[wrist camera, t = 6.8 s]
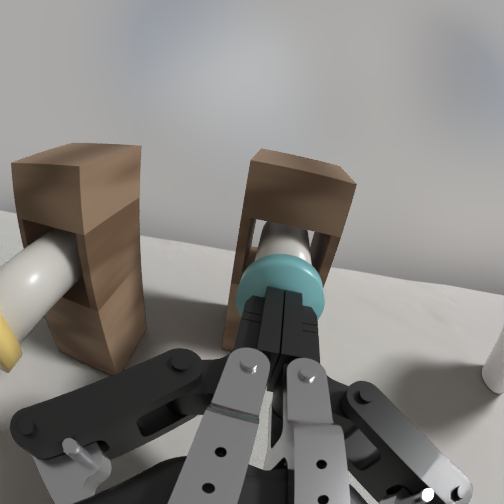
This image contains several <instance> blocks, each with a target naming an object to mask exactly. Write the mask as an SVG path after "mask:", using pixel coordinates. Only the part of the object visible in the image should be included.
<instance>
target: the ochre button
mask: <svg viewBox="0 0 504 504" xmlns="http://www.w3.org/2000/svg"><path fill="white" fill-rule="evenodd" d="M82 276H83V273H82V267H81V262H80V256H79V250H78V244H77V237H76V233H73V232H69V231H66V230H62V229H58V228H53V229H52V230H50V231H49V232H47V233H46V234H44V235H43V236H41V237H40V238H39V239H37V240H36V241H34V242H33V243H32V244H30V245H29V246H27V247H26V248H25V249H23V250H22V251H21V252H19V253H18V254H17V255H15V256H14V257H13V258H11V259H10V260H9V261H8V262H6V263H5V264H4V265H3V266H1V267H0V369H2V370H3V371H4V372H6V373H9V372H10V371H11V370H12V368H13V367H14V366H15V364H16V363H17V362H18V360H19V359H20V358H21V356H22V351H21V348H20V345H19V344H20V343H21V342H22V340H23V339H24V338H25V337H26V336H27V334H28V333H29V332H30V331H31V330H32V329H33V328H34V326H35V325H36V324H37V323H38V322H39V321H40V320H41V319H42V317H43V316H44V315H45V314H46V313H47V312H48V311H49V310H50V309H51V308H52V307H53V306H54V305H55V304H56V302H57V301H58V300H59V299H60V298H61V297H62V296H63V295H64V294H65V293H66V292H67V291H68V290H69V289H70V288H71V287H72V286H73V285H74V284H75V283H76V282H77V281H78V280H79V279H80V278H81V277H82Z"/></svg>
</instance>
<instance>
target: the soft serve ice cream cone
mask: <svg viewBox="0 0 504 504" xmlns="http://www.w3.org/2000/svg"><path fill="white" fill-rule="evenodd" d="M482 377H483V380H484V382H485V384H486V385H487V387H488V388H489V389H490V390H491V391H493V392H495V393H498V394H500V393H503V392H504V325H503V329H502V332H501V334H500V336H499V338H498V340H497V342H496V344H495V346H494V348H493V350H492V351H491V353H490V355H489V357H488V359H487V361H486V362H485V364H484V366H483V368H482Z"/></svg>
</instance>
